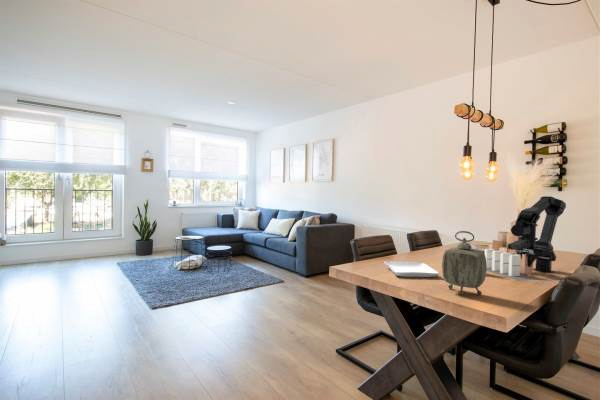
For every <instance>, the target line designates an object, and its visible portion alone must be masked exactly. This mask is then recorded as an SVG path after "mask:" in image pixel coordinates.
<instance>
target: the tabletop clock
mask: <svg viewBox="0 0 600 400" xmlns="http://www.w3.org/2000/svg"><path fill="white" fill-rule="evenodd" d="M463 233H465V234H468V235H471V237H472V238H471V239H468V240H467V239H466V238H465V237H463V238H462V239H461V238H458V237H457V235H459V234H463ZM454 237H455V239H456V240H458V241H460V242H459V243H458V244H457V246H455V247H454V246H453V247H451V248H449V249H446V250H444V253H443V255H442V262H441V268H442V270H441V271H442V272H441V273H442V277H443V281H445V282H446V283H448V284H449V285H448V286H447V287H448V289H450V290H452V289H453V288H454V287H453V285H454V286H457V287H460V290H459V291H458V294H459V296H460V295H462V296H463V295H464V291H463V289H464V288H469V289H475V290H476V295H479V296H481V295H482V291H481V290H479V287H481V286H482V285H483V283H484V282H485V280H486V276H487V271H486V270H487V266H486V257H485V251H484V252H483V251H482V250H479V249H477V248H476V249H471V244H470V243H469V242H473V241H475V234H473V233H472V232H470V231H468V230H461V231H457V232H456V233H455V234H454Z"/></svg>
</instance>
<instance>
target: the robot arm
mask: <svg viewBox="0 0 600 400" xmlns="http://www.w3.org/2000/svg"><path fill="white" fill-rule="evenodd" d="M566 208H567V204H566V202H565V201H564V200H562V199H558V198H556V197H553V196H552V195H551V196H549V195H548V196H545V195H544V196H541V197H540V199H539V200H537V201H536V202H535V203H534V204H533V205H532V206H530V207H527V208H524V209H522V210H520V212H519V213H518V216H517V218H516V221H515V224H514V225H512V227H511V228H510V233H511V234H512V236H515V237H518V240H515V241H513V242H511V243H508V244H507V249H509V250H515V252H516V253H517V254H518V255H521V259H522V254H526V255H527V256H528V267H531V265H532V264H533V265H534V262H535V268H533V270H534V271H537V272H542V273H555V270H552V262H556V260H557V255H556V254H555V252H554V246H553V244H552V240H553V235H554V233H555V228H556V225H557V223H558V222H557V221H558V218H559V217H560V216H561V215H562V214H563V213H564V212H565V210H566ZM543 212H544V213H545V219H544V223H543V226H542V229H541V233H540V237H536V235H537V230H536V229H537V227H538V224H537V223H538V221H540V218H541V214H542V213H543ZM538 238H539V239H538Z"/></svg>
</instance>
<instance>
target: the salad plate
mask: <svg viewBox="0 0 600 400" xmlns="http://www.w3.org/2000/svg"><path fill="white" fill-rule="evenodd" d="M383 263H384V264H385V266H386V267H387V268H388V269H389V270H391V272H392V273H393V274H394V275H395V276H398V277H403V278H404V277H405V278H407V277H408V278H433V277H437V276H439V274H440V273H439V272H438V271H437V270H436V269H434V268H432V267H430V266H429V265H428V264H426V263H424V262H412V261H410V262H409V261H384V262H383Z"/></svg>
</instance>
